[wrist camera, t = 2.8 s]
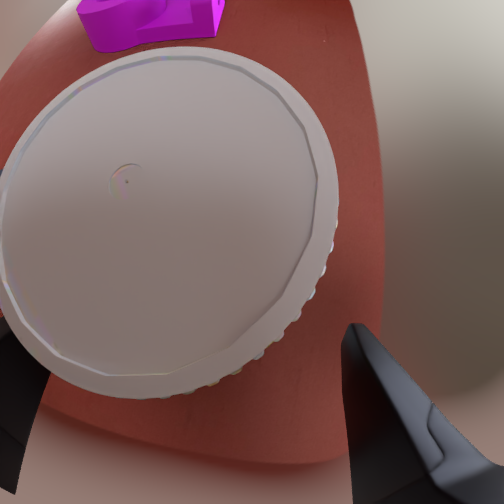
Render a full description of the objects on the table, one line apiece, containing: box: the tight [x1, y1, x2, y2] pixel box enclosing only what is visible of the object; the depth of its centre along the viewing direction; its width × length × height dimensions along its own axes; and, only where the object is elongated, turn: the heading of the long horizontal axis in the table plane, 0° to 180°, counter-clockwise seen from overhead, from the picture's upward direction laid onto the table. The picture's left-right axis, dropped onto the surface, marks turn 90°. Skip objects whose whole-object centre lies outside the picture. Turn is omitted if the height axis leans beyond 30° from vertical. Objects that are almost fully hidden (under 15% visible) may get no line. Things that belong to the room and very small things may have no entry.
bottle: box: [0, 47, 339, 400], centre depth 11 cm, size 7×7×15 cm
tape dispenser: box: [76, 0, 225, 53], centre depth 22 cm, size 16×10×6 cm, turn 87°
